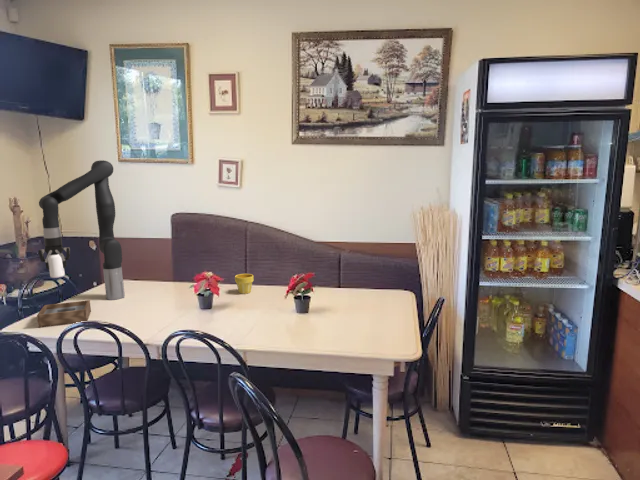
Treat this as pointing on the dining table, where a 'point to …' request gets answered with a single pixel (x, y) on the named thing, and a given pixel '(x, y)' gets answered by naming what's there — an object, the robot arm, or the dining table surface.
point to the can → (56, 266)
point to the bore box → (63, 313)
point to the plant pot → (244, 283)
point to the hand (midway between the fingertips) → (56, 268)
